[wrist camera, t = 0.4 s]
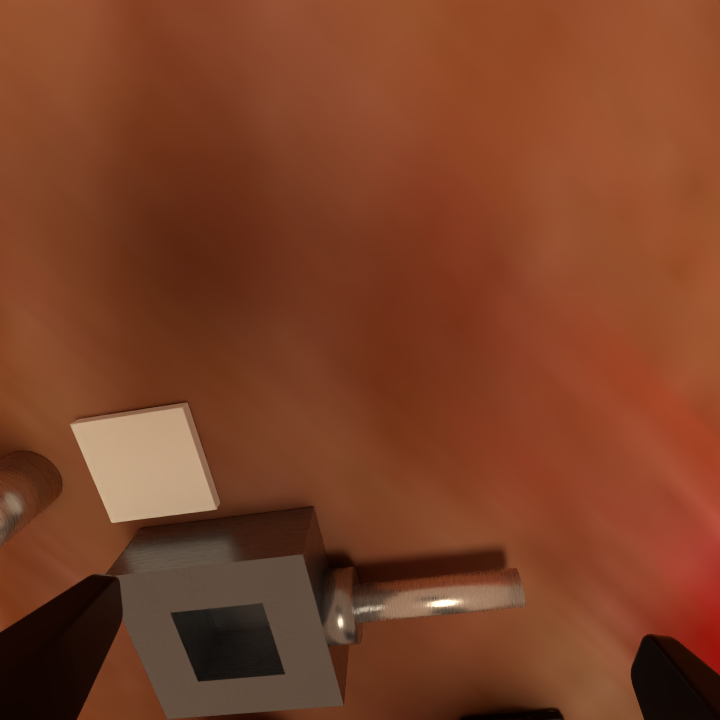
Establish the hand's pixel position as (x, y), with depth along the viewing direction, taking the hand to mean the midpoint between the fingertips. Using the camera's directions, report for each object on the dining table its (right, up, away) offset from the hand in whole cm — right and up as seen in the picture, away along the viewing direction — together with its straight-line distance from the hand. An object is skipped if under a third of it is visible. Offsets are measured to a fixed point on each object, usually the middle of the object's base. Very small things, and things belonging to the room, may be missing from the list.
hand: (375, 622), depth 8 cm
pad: (-11, -1, +16) cm, 20 cm away
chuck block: (-2, -8, +18) cm, 20 cm away
